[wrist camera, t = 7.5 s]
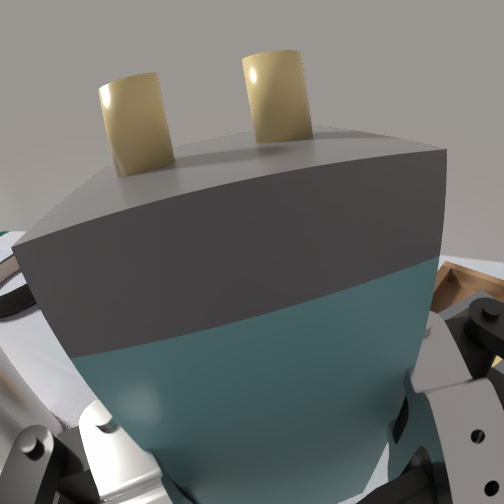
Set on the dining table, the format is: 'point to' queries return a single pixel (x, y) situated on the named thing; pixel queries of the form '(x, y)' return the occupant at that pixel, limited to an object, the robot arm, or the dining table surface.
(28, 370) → the dining table surface
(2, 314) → the belt
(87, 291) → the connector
